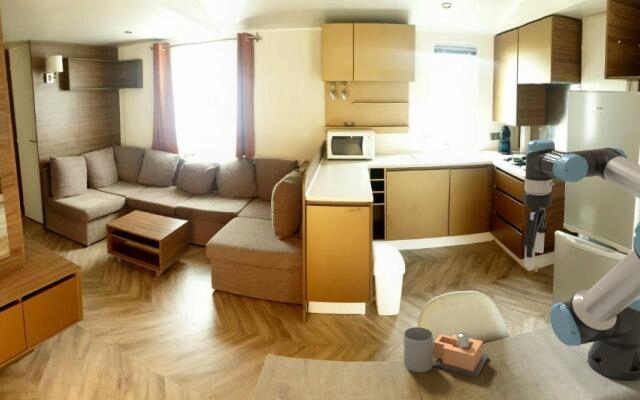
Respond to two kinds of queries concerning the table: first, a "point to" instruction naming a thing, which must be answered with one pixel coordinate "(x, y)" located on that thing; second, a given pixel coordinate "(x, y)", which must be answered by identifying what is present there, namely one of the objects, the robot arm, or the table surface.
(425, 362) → the cup
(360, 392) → the table surface
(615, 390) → the table surface
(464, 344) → the post base
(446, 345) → the orange bottle-shaped mold
